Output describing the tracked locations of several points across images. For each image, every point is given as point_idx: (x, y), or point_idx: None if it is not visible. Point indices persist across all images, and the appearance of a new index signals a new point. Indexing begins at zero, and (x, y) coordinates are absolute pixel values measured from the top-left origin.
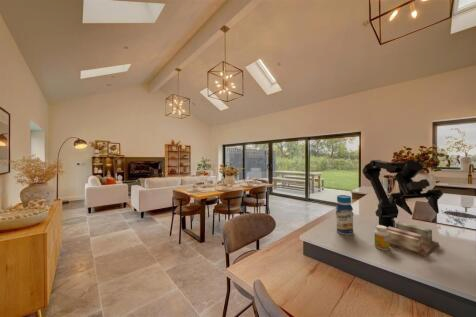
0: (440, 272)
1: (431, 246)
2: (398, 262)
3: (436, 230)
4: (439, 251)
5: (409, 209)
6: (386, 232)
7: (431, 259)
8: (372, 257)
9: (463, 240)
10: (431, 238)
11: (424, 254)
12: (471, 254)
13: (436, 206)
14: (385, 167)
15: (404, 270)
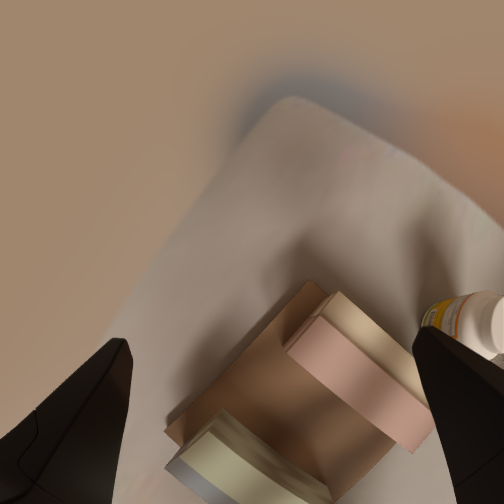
0: (308, 167)
1: (223, 381)
2: (418, 207)
3: None
4: (205, 354)
5: (468, 358)
6: (478, 311)
7: (288, 261)
8: (480, 227)
9: None
10: (185, 444)
11: (304, 285)
12: (99, 343)
13: (73, 394)
14: None
15: (411, 160)
